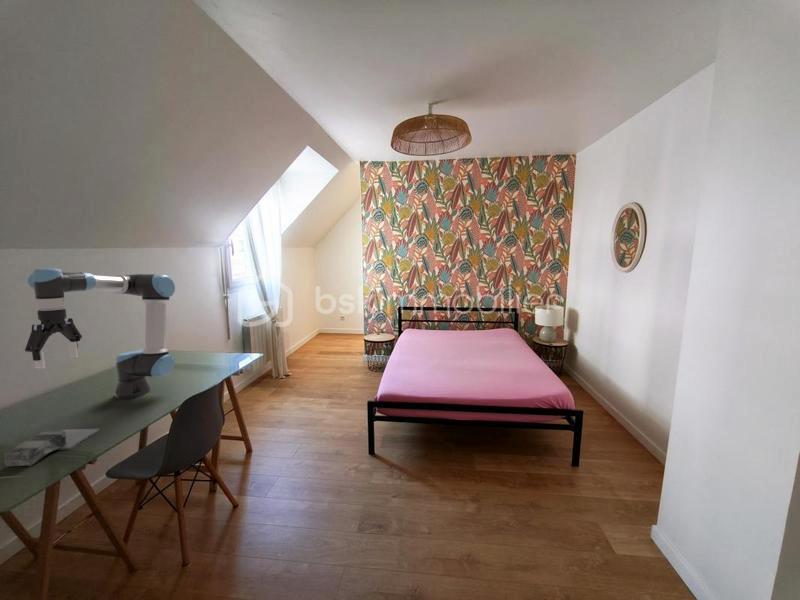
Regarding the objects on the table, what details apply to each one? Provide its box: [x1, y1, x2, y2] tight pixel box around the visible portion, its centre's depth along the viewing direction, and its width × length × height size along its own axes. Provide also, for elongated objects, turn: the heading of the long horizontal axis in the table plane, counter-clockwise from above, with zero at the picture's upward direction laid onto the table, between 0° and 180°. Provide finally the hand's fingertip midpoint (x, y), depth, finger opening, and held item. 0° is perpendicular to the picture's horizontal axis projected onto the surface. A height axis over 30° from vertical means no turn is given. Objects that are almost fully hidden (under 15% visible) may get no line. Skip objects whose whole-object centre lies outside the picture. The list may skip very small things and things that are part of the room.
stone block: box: [3, 430, 66, 468], centre depth 122 cm, size 9×14×5 cm, turn 4°
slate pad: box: [55, 428, 101, 451], centre depth 132 cm, size 14×14×1 cm
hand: (58, 362), depth 128 cm, fingers open, 13 cm apart
